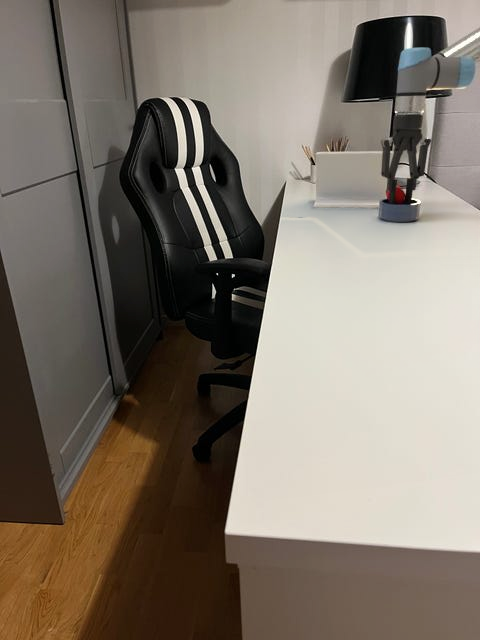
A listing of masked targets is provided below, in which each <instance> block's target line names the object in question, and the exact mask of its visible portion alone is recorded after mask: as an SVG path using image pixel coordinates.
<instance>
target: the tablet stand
mask: <svg viewBox="0 0 480 640" xmlns="http://www.w3.org/2000/svg"><path fill="white" fill-rule="evenodd" d="M393 152H394V150H390V164H389V168H390V165H391V161H392V158H393V154H394V153H393ZM382 153H383V150H380V151H379V150H376V151H375V150H372V151H371V150H370V151H364V150H363V151H317V152H316V153H315V200H314V202H313V207H314V208H345V209H346V208H348V209H349V208H350V209H352V208H353V209H354V208H356V209H357V208H358V209H361V208H362V209H379V201H380V200H382V199H387V196H386V189H387V178H385V177H383V176H381V169H382Z"/></svg>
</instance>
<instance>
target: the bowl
mask: <svg viewBox="0 0 480 640" xmlns="http://www.w3.org/2000/svg"><path fill="white" fill-rule="evenodd" d="M420 211H421V201H420V200H419V199H415V198H412V201H411V203H407V202H405V199H404V201H403V202H402V203H400V204H391V203H389V202H388V199H382V200H380V201H379V208H378V216H377V217H378V218H379V219H381V220H383V221H386V222H389V223H390V222H391V223H409V222H410V223H411V222H414V221H416V220H418V219H420V213H421V212H420Z"/></svg>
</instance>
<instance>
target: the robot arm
mask: <svg viewBox="0 0 480 640" xmlns="http://www.w3.org/2000/svg"><path fill="white" fill-rule="evenodd" d="M479 60H480V27H478V28H476V29H475V30H473V31H472V32H469V33H468V34H467V35H465V36H463V37H462V38H460V39H458V40H456V41H455V42H453V43H452V44H450V45H448V46H447V47H446V48H444V49H442V50H441V51H439V52H437V53H436V54H434V55H432V50H431V48H430V47H410V48H405V49H403V50H402V51H401V52H400V55H399V61H398V67H397V83H396V95H395V103H394V113H396V114H395V115H394V116H393V125H392V133H391V135H390V137H388V138H385V139H381V140H380V144H381V147H382V151H383V153H382V169H381V176H383V177H385V178H387V191H389V200H388V202H389V203H391V204H395V196H396V186H398V185H397V184H398V180H397V179H395V178H396V175H397V172H398V168H399V165H400V161H401V157H402V155H403V154H404V152H405V151H406V154H407V158H408V169H409V177H406V184H405V185H406V186H405V202H407V203H411V201H412V199H413V191H416V189H417V181H418V180H419V178H420V177H424V176H425V173H426V166H427V165H426V164H427V158H428V152H429V147H430V145H431V143H432V139H431V138H428V137H427V138H426V137H424V136H423V133H422V130H423V126H424V125H423V123H424V115H423V113H424V112H425V107H426V97H427V91H433V90H459V89H466V88H468V87H469V86H471V84H472V82H473V80H474V79H475V75H476V63H477V62H478V61H479ZM392 143H393V146H394V148H393V151H394V152H393V153H394V154H393V158H392V161H391V165H390V168H389V164H390V151H391V147H392ZM418 145H419V151H418V149H417V146H418ZM417 151H418V152H417ZM417 153H418V156H417Z"/></svg>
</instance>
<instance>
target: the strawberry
mask: <svg viewBox="0 0 480 640" xmlns="http://www.w3.org/2000/svg"><path fill="white" fill-rule="evenodd" d="M405 194H406V191H405V190H404V189H403V188H402V187H400V186H399V185H397V186H396V196H395V204H400V203H402V202H403V201H404V199H405ZM386 196H387V199H388V200H389V191H387V189H386Z"/></svg>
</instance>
